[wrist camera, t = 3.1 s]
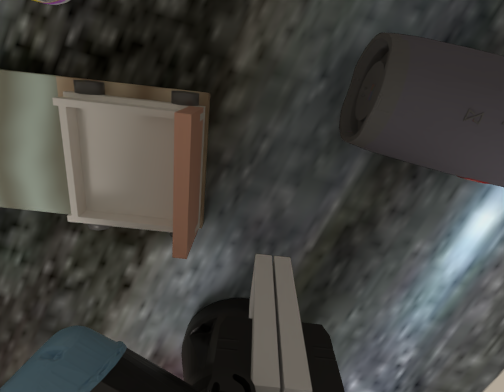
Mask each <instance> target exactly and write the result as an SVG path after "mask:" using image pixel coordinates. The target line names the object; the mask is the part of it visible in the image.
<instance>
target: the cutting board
mask: <svg viewBox="0 0 504 392" xmlns="http://www.w3.org/2000/svg"><path fill="white" fill-rule="evenodd" d="M73 80H91V81H100V80H92V79H83V78H74V77H65V76H57V75H48V74H39V73H30V72H21V71H13V70H4V69H0V207H6V208H15V209H24V210H34V211H43V212H53V213H62V214H70V213H71V207H70V199H69V191H68V183H67V174H66V166H65V158H64V150H63V141H62V133H61V125H60V117H59V108H58V106H55V105H53V99H52V98H54V97H63V92H64V91H74V83H73ZM100 82H104V85H105V95H109V96H118V97H127V98H136V99H145V100H154V101H162V102H171V91H188V90H180V89H171V88H162V87H153V86H144V85H136V84H127V83H118V82H109V81H100ZM188 92H195V93H199V106H205V126H204V146H203V167H202V187H201V207H200V227H199V228H202V226H203V219H204V201H205V182H206V164H207V145H208V127H209V108H210V93H206V92H197V91H188Z"/></svg>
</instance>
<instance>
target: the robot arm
mask: <svg viewBox="0 0 504 392" xmlns="http://www.w3.org/2000/svg"><path fill="white" fill-rule="evenodd" d="M182 366H183V377H184V381H183V380H181V379H180V378H178V377H176V376H174V375H173V374H171V373H169V372H168V371H166V370H164V369H162V368H161V367H159V366H157V365H156V364H154V363H152V362H150V361H149V360H147V359H145V358H144V357H142V356H140V355H138V354H137V353H135V352H133V351H132V350H130V349H128V348H127V347H126V345H125V344H124V343H123V342H121V341H118V342H115V341H113V340H111V339H109V338H107V337H105V336H103V335H101V334H99V333H98V332H96V331H94V330H92V329H90V328H87V327H84V326H71V327H67V328H64V329H62V330H60V331H58V332H57V333H56V334H54V335H53V336H52V337H51V338H50V339H49V340H48V341H47V342H46V343H45V344H44V345H43V346H42V347H41V348H40V349H39V350H38V351H37V352H36V353H35V354H34V355H33V356H32V357H31V358H30V359H29V360H28V361H27V362H26V363H25V364H24V365H23V366H22V367H21V368H20V369H19V370H18V371H17V372H16V373H15V374H14V375H13V376H12V377H11V378H10V379H9V380H8V381H7V382H6V383H5V384H4V385H3V386H2V387H1V388H0V392H345V391H344V388H343V384H342V380H341V376H340V373H339V369H338V365H337V361H336V358H335V354H334V351H333V346H332V343H331V339H330V336H329V334H328V333H327V332H326V330H325V329H324V327H323V326H322V325H319V324H310V323H301V319H300V313H299V307H298V301H297V295H296V289H295V283H294V277H293V271H292V265H291V259H290V257H281V256H274V261H273V267H272V255H262V254H256V256H255V263H254V271H253V279H252V286H251V294H250V299H246V298H234V299H227V300H222V301H219V302H216V303H213V304H211V305H209V306H207V307H205V308H204V309H202V310H201V311H200V312H198V313H197V314H196V315H195V316H194V317H193V319H192V320H191V322H190V323H189V325H188V327H187V330H186V334H185V337H184V341H183V345H182Z"/></svg>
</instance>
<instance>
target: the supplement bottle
mask: <svg viewBox="0 0 504 392" xmlns="http://www.w3.org/2000/svg"><path fill="white" fill-rule="evenodd" d="M34 1H37V2H40V3H45V4H51V5H59V4H63V3H66V2H68V1H70V0H34Z"/></svg>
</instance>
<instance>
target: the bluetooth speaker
mask: <svg viewBox="0 0 504 392" xmlns="http://www.w3.org/2000/svg"><path fill="white" fill-rule="evenodd" d="M339 129H340V136H341V138H342V139H343V140H344V141H346V142H348V143H351V144H353V145H356V146H358V147H360V148H363V149H366V150H369V151H372V152H375V153H378V154H381V155H385V156H388V157H392V158H395V159H398V160H402V161H405V162H409V163H412V164H415V165H419V166H423V167H426V168H430V169H434V170H437V171H441V172H444V173H448V174H452V175H456V176H458V177H461V178H463V179H466V180H470V181H474V182H478V183H486V184H493V185H497V186H501V187H504V56H501V55H497V54H493V53H489V52H485V51H480V50H476V49H472V48H468V47H464V46H459V45H454V44H450V43H445V42H441V41H436V40H432V39H427V38H422V37H417V36H411V35H403V34H395V33H379V34H378V35H376V36H375V37H374V38H373V39H372V40H371V42H370V43H369V44H368V46H367V47H366V49H365V50H364V52H363V53H362V55H361V57H360V59H359V61H358V63H357V65H356V67H355V70H354V74H353V77H352V81H351V84H350V87H349V90H348V93H347V96H346V98H345V101H344V103H343V106H342V110H341V115H340V125H339Z"/></svg>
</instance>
